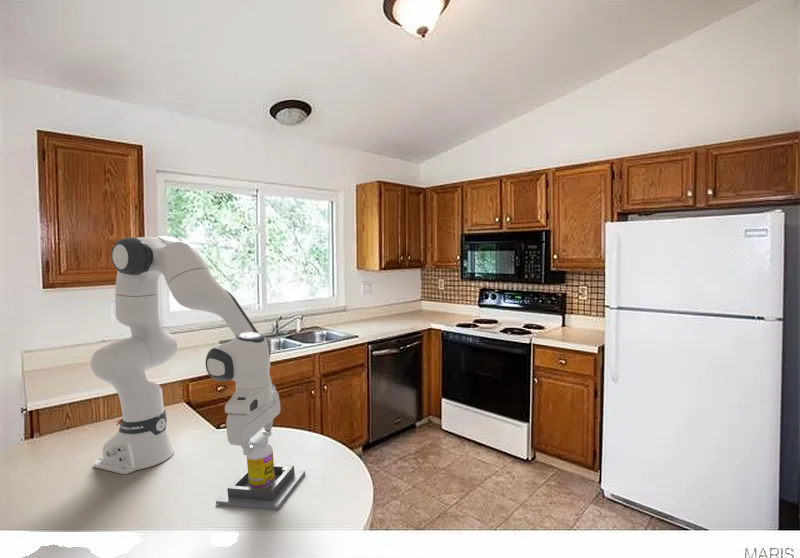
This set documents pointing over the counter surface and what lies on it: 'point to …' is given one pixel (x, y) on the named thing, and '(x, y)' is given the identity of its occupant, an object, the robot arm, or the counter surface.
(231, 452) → the counter surface
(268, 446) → the supplement bottle
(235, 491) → the pocket plate
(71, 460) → the counter surface
